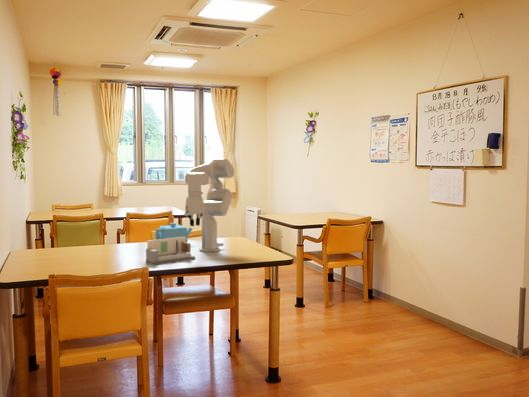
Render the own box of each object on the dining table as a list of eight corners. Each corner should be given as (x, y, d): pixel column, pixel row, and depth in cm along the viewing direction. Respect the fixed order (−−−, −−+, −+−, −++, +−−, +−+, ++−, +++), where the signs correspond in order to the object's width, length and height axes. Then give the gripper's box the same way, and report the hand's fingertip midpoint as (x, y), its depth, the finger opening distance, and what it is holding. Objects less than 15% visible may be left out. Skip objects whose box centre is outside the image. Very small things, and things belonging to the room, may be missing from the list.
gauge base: (186, 256, 298) (186, 236, 297) (195, 259, 290) (194, 238, 289) (145, 261, 282) (145, 240, 281) (153, 264, 274) (153, 243, 273)
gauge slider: (184, 254, 296) (183, 240, 295) (190, 256, 289) (190, 242, 289) (172, 255, 291) (172, 241, 290) (178, 258, 285) (178, 243, 284)
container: (152, 245, 335) (152, 222, 334) (188, 242, 347) (188, 220, 346) (159, 249, 320) (159, 225, 319) (196, 246, 332) (196, 223, 331)
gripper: (203, 193, 299) (203, 223, 300) (179, 194, 289) (179, 226, 290) (210, 194, 293) (210, 225, 294) (185, 195, 283) (185, 227, 285)
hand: (194, 225), depth 292 cm, fingers open, 3 cm apart
